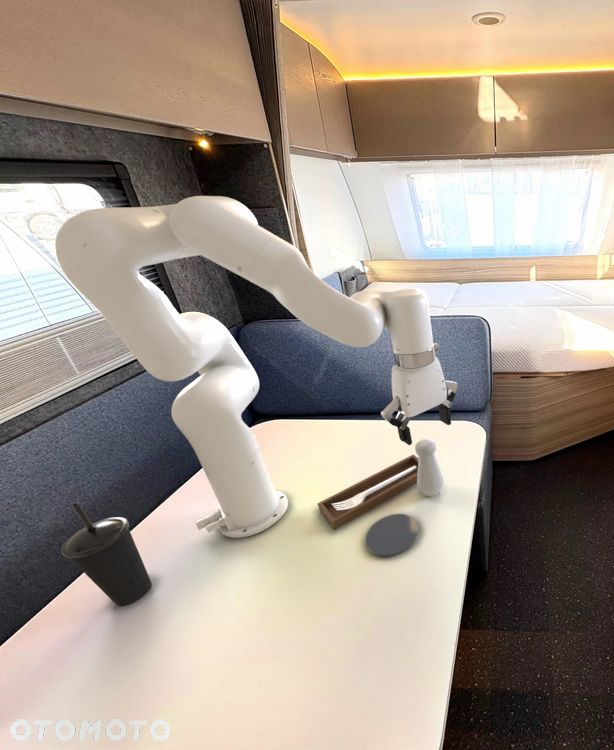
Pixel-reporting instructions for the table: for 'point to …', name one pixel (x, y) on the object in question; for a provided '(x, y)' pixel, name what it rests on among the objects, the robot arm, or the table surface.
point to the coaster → (392, 535)
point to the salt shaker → (428, 468)
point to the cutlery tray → (373, 499)
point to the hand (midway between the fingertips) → (427, 432)
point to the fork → (368, 492)
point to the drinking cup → (109, 558)
